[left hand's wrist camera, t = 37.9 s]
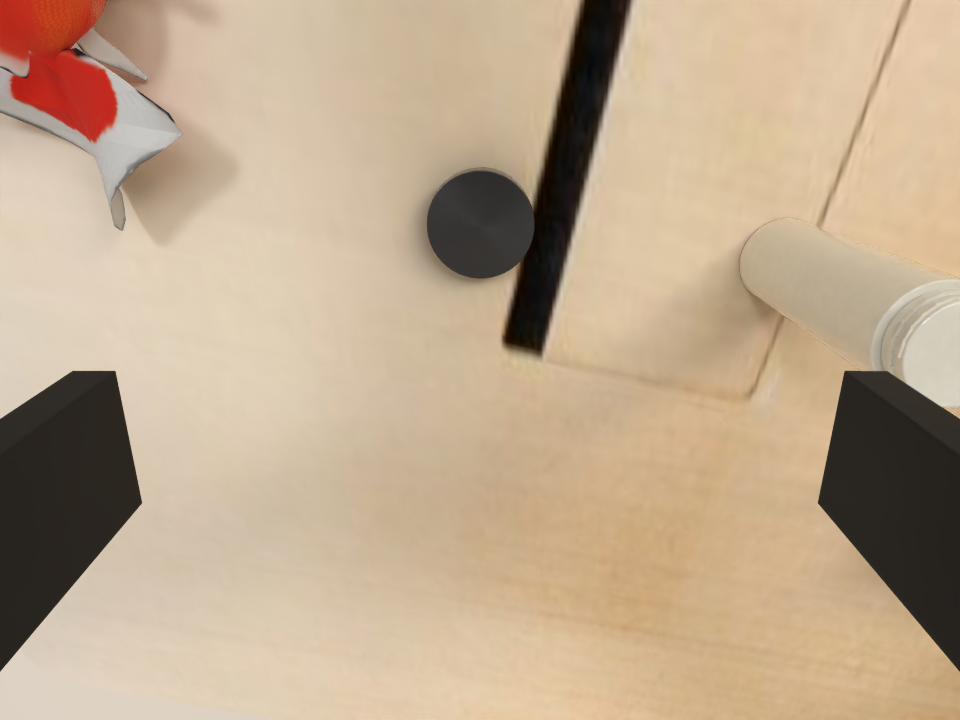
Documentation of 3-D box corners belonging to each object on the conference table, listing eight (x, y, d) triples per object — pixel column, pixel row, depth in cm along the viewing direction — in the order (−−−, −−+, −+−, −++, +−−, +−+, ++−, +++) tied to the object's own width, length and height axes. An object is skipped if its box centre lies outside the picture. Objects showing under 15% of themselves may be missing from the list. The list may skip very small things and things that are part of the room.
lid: (442, 280, 38) (441, 288, 37) (418, 180, 37) (415, 183, 35) (540, 259, 38) (543, 266, 36) (521, 156, 36) (523, 159, 35)
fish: (254, -103, 28) (35, -70, 21) (250, 210, 39) (105, 299, 32) (53, -198, 30) (-211, -196, 23) (104, 128, 41) (-64, 196, 34)
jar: (833, 220, 37) (1053, 294, 23) (812, 303, 39) (1005, 420, 25) (748, 214, 37) (915, 285, 23) (731, 298, 39) (877, 412, 25)
